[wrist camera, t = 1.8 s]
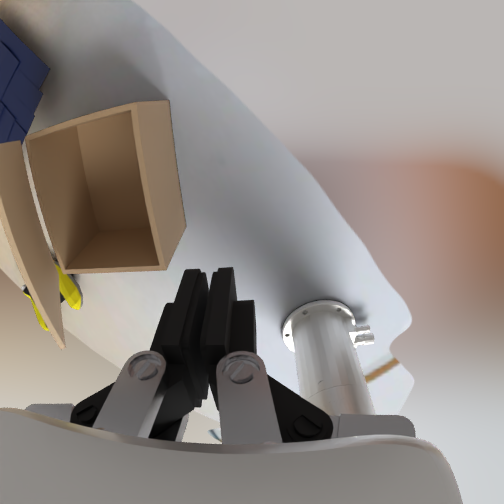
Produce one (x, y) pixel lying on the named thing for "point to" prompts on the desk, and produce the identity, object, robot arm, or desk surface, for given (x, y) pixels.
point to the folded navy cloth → (18, 86)
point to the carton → (110, 189)
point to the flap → (29, 238)
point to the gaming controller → (61, 293)
